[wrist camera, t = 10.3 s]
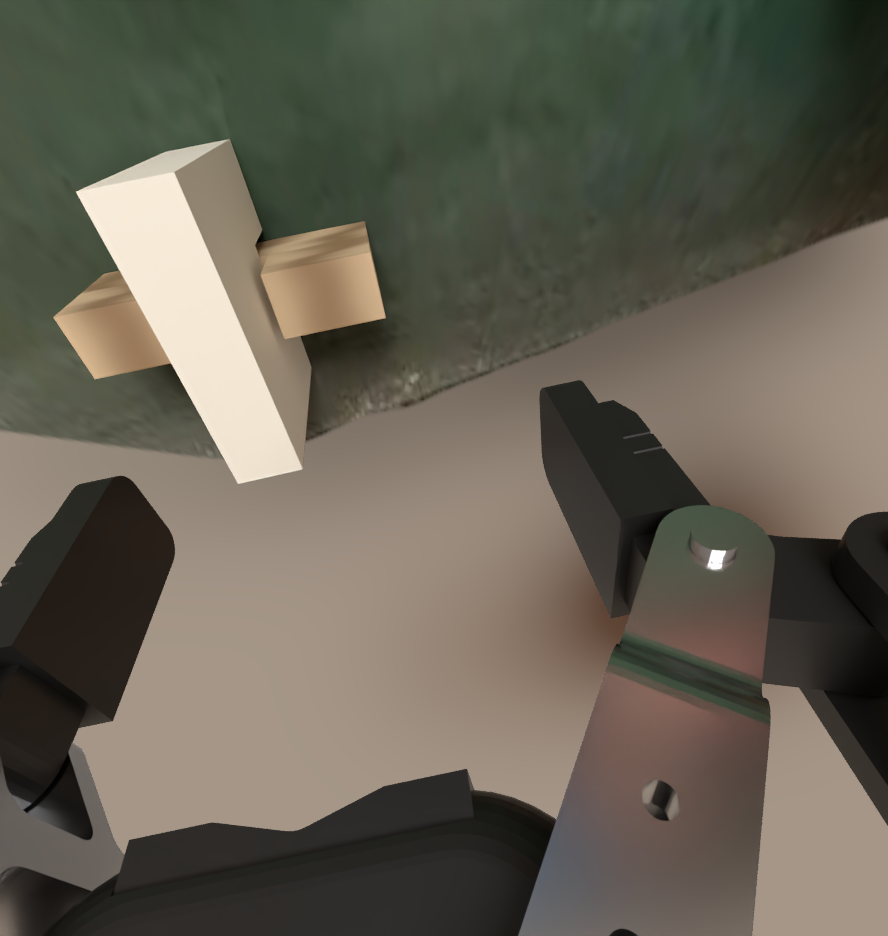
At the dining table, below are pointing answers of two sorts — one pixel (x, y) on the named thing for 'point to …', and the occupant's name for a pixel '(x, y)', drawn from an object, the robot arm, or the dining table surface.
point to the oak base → (285, 279)
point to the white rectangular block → (209, 300)
